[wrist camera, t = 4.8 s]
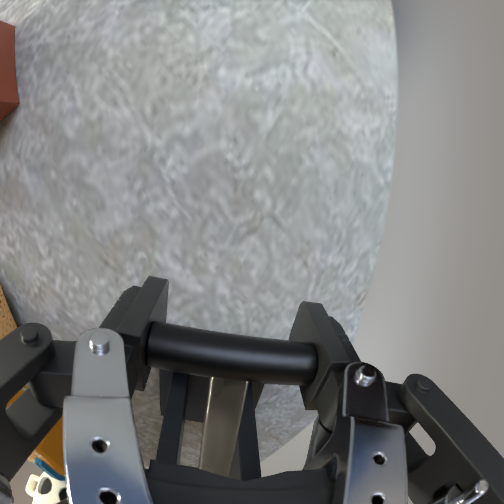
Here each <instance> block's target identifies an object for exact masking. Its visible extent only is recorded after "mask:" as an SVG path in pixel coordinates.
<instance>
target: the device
mask: <svg viewBox="0 0 504 504" xmlns="http://www.w3.org/2000/svg"><path fill="white" fill-rule="evenodd" d="M16 328H18V327H17V325H16V323H15V321H14V318H13V316H12V314H11V311H10V309H9V306H8V304H7V301H6V299H5V296H4V294H3V291H2V287H1V285H0V340H1V339H3V338H4V337H5V336H7V335H8V334H9V333H11V332H12V331H13V330H15V329H16ZM27 388H29V386H28V384H26V385H25V386H24V387H23V388H22V389H21V390H20V391H19V392H18V393H17V394H16V395H15V396H14V397H13V398H12V399H11V400H10V401H9V402H8V404H7V406H6V409H7V408H8V407H9V406H10V405H11V404H12V403H13V402H14V401H15V400H16V399H17V398H18V397H19V396H20V395H21V394H22V393H23V392H24V391H25V390H26V389H27ZM27 460H28V461H30V462H32V463H34V464H36V465H38V466H39V467H40V468H41V469H42V470H43V471H44V472H46V473H47V474H48V475H49V476H51V477H52V478H54V479H57V480H59V481H65V473H64V460H63V416H62V417H61V418H60V420H59V421H58V422H57V423H56V424H55V425H54V427H53V428H52V429H51V430H50V432H49V433H48V434H47V435H46V436H45V438H44V439H43V440H42V441H41V443H40V444H39V445H38V446H37V447H36V449H35V450H34V451H33V452H32V454H31V455H30V456H29V457H28V459H27Z"/></svg>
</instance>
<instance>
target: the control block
mask: <svg viewBox="0 0 504 504" xmlns="http://www.w3.org/2000/svg"><path fill="white" fill-rule="evenodd" d="M18 104H19V98H18V91H17V81H16V69H15V26H13V25H10V24H8V23H5V22H2V21H0V122H1V121H2V120H3V119H4V118H5V117H6V116H7V115H8V114H9V113H10V112H11V111H12V110H13V109H14V108H15V107H16V106H17V105H18Z"/></svg>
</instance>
